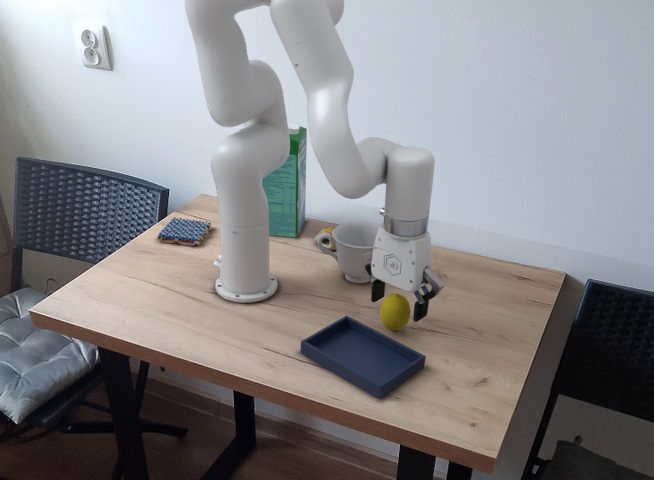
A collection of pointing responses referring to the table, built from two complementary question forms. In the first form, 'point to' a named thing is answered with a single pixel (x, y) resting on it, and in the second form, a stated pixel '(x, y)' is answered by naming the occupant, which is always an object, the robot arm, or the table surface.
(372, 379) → the tray
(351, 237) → the teacup
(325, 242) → the pastry
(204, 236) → the woven mat
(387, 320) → the lemon
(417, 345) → the table surface
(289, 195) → the milk carton
